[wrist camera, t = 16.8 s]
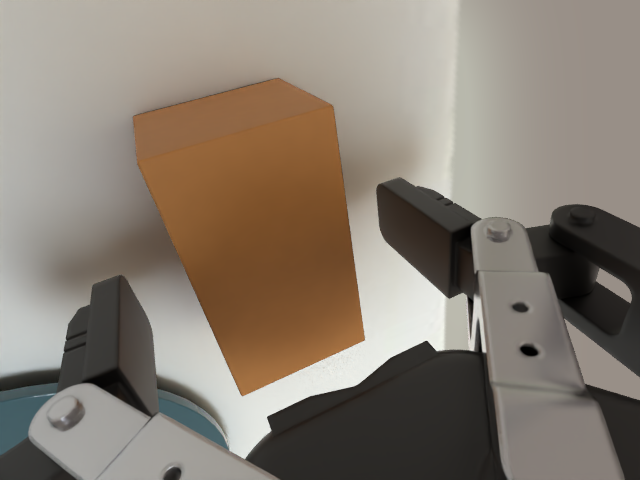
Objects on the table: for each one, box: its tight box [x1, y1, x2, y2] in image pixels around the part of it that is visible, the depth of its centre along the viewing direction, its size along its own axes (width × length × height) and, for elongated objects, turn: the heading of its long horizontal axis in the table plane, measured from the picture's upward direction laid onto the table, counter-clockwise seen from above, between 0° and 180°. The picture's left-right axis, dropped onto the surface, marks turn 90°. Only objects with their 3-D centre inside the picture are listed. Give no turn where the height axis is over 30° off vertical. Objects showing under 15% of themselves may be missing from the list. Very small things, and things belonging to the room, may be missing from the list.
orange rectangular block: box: [133, 78, 365, 396], centre depth 12 cm, size 8×4×4 cm, turn 10°
